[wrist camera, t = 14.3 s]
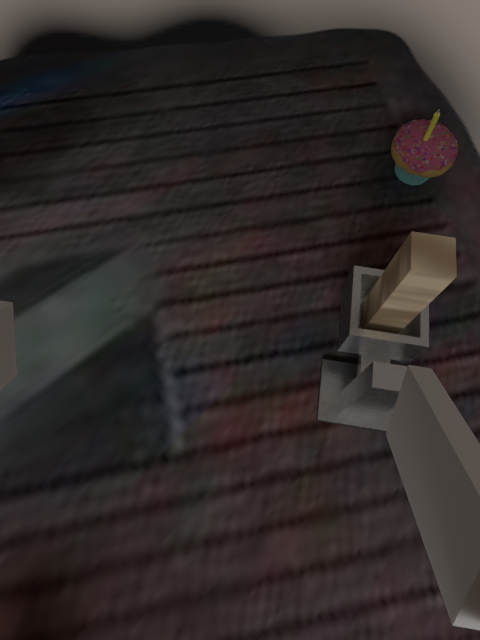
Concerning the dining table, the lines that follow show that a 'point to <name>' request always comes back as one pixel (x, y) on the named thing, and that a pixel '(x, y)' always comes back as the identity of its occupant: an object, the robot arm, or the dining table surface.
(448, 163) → the cupcake
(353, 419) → the bracket
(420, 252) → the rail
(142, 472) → the dining table surface
